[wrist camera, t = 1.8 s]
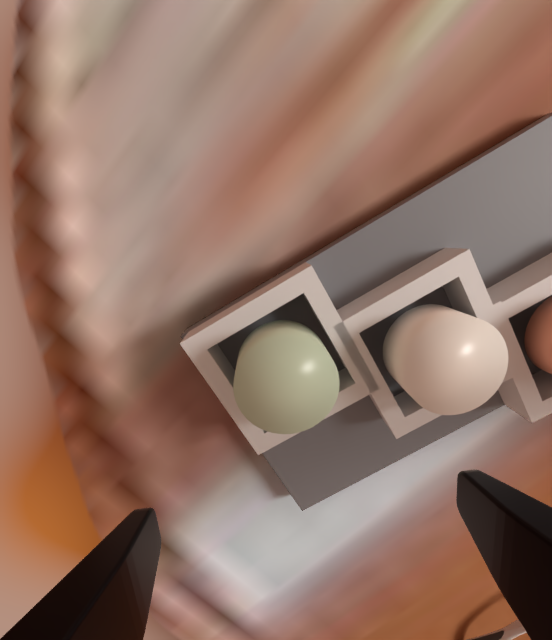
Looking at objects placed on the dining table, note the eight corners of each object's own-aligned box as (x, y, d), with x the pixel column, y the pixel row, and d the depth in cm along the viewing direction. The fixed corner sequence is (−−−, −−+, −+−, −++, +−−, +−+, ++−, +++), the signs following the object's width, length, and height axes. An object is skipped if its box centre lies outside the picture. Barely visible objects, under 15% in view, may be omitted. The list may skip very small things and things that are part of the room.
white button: (483, 361, 17) (522, 383, 14) (405, 403, 17) (430, 432, 15) (449, 287, 16) (485, 296, 13) (367, 333, 16) (387, 351, 14)
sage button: (342, 377, 17) (357, 402, 14) (266, 419, 17) (268, 451, 14) (299, 303, 16) (307, 315, 13) (219, 349, 16) (212, 370, 13)
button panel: (616, 324, 20) (689, 342, 17) (299, 492, 22) (306, 539, 18) (547, 113, 17) (619, 83, 14) (186, 328, 19) (170, 348, 15)
